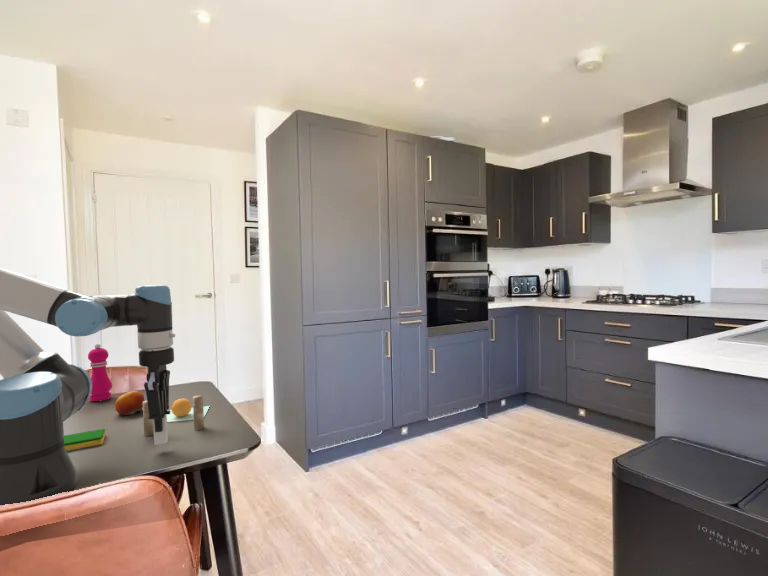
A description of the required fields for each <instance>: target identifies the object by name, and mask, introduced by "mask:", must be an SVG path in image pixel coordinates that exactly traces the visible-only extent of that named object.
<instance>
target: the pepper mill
mask: <svg viewBox="0 0 768 576" xmlns="http://www.w3.org/2000/svg"><path fill="white" fill-rule="evenodd" d="M87 358H88V361H90V363H89V365H90V368H91V370H92V371H91V376H90V378H91V381H92V391H91V395H90V397H89V401H90V400H91V401H100V400H105V401H107V400H106V399H108V398H110V397H111V398H112V393H111V390H112V389H113V382H112V380H111V378H110V377H109V375H108V373H107V365H108V361H107V360H108V358H109V352H108V350H107V349H105V348H102V346H101V344H100V343H96V344H95V345H94V348H93V349H91V350H90V351H89V352H88V355H87ZM111 398H110V399H111ZM108 400H109V399H108ZM91 401H90V402H91ZM100 402H101V401H100Z"/></svg>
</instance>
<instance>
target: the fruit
mask: <svg viewBox="0 0 768 576" xmlns="http://www.w3.org/2000/svg"><path fill="white" fill-rule="evenodd" d="M144 401H145V396H144V394H143V393H142V392H141V391H138V390H131V391H127V392H125V393H123V394H121V395H119V397H118V398H117V399H116V400H115V404H114V408H115V409H114V410H115V412H116V413H118V414H119V415H121V416H128V415H134V414H135V413H136V412H139V411H142V412H143V402H144Z"/></svg>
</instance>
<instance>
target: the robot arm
mask: <svg viewBox="0 0 768 576" xmlns="http://www.w3.org/2000/svg"><path fill="white" fill-rule="evenodd" d="M134 290H135V291H134V293H129V294H113V295H112V294H106V295H105V294H104V295H103V294H102V295H100V294H99V295H98V294H96V295H95V294H93V295H88V296H87V295H84V294H81V293H78V292H75V291H72V290H68V289H66V288H63V287H60V286H56V285H53V284H51V283H48V282H45V281H41V280H38V279H36V278H32V277H29V276H27V275H23V274H22V273H17V272H15V271H11V270H8V269H5V268H2V267H0V376H1V377H2V378H3V379H0V505H5V504H13V503H20V502H26V501H31V500H35V499H39V498H43V497H47V496H52V495H55V494H58V493H62V492H67V491H69V492H71V490H73V489H74V488H75V487H76V486H77V484H78V474H77V470H76V467H75V465H74V464H73V461H72V459H71V458H70V455H69V453H68V451H66V450H65V446H64V436H65V434H64V433H65V431H64V430H65V429H64V422H65V421H66V420H67V419H69V418H70V417H72V416H73V415H75V414H76V413H77V412H79V411H80V410H81V409H83V407H84V405H86V403H87V402H88V401H89V400H90V396H91V395H92V394H91V391H92V381H91V376H90V374H89V373H88V372H87V371H86V369H84V368H82V367H81V366H79V365H75V364H70V363H68V362H66V360H65V359H64V358H63V357H62V356H61V355H60V354H59V353H58V352H50V351H45V350H44V349H43V348H42V347H41V346H40V345H39V344H38V343H36V341H35V340H34V339H33V338H32V337H31V336H30V335H29V334H28V333H27V332H26V331H25V330H24V329H23V328H22V327H21V326H20V325H19V324H18V323H17V322H16V321H15V320H14V319H13V318H12V317H11V316H10V315H9V314H8V313H11V314H14V315H17V316H18V315H19V316H21V317H25V318H28V319H30V320H35V321H38V322H42V323H45V324H48V325H51V326H53V327H56V328H58V329H59V331H60V332H62V333H64V334H65V335H67V336H71V337H87V336H92V335H94V334H97V333H99V332H100V331H103V330H106V329H109V328H115V327H128V326H129V327H130V326H136V327H137V348H138V349H139V351H138V363H139V364H138V365H139V366H140V367H143V368H144V367H146V368H148V370H147V373H146V377H145V378H146V381H147V382H144V383H143V386H144V387H143V388H144V390H145V393H146V399H147V400H146V401H147V403H148V410H149V419H153V431H154V434H153V445H154V446H156V445H164V444H167V443H168V441H169V436H168V434H169V433H168V423H167V414H170V378H171V377H170V375H171V371H170V370H169V369H167V365H170V364H172V363H173V362H175V351H174V350H175V349H174V348H173V347H172V346H173V345H174V338H175V337H176V334H175V333H174V332H173V329H174V328H173V309H172V308H173V306H172V304H173V302H172V298H171V289H170V287H169V286H168V285H165V284H158V285H157V284H155V285H153V284H152V285H138V286H136V287H135V289H134ZM7 312H8V313H7Z"/></svg>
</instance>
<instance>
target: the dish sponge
mask: <svg viewBox="0 0 768 576" xmlns="http://www.w3.org/2000/svg"><path fill="white" fill-rule="evenodd" d="M105 437H106V428H100V429H95V430H90V431H83V432H77V433H71V434H64V446H65V450H66V452H68V451H72V450H78V449H83V448H89V447H94V446H98V445H99V446H100V445H102V444H103V443H104V441H105Z"/></svg>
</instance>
